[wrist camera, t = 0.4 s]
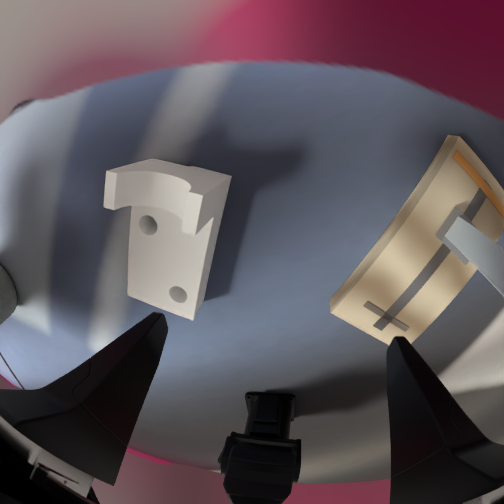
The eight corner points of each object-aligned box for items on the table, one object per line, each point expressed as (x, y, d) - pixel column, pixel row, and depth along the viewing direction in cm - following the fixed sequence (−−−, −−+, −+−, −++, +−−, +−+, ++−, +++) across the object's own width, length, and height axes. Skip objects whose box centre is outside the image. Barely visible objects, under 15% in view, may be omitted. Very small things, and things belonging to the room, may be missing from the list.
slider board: (397, 339, 26) (402, 352, 24) (329, 300, 25) (331, 313, 23) (504, 203, 18) (516, 209, 16) (447, 134, 17) (460, 136, 15)
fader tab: (459, 259, 19) (520, 329, 10) (434, 235, 19) (502, 304, 10) (478, 233, 18) (547, 293, 9) (454, 206, 18) (532, 261, 8)
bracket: (157, 157, 23) (106, 170, 16) (232, 175, 22) (202, 195, 16) (143, 278, 28) (106, 318, 21) (204, 299, 28) (177, 349, 21)
